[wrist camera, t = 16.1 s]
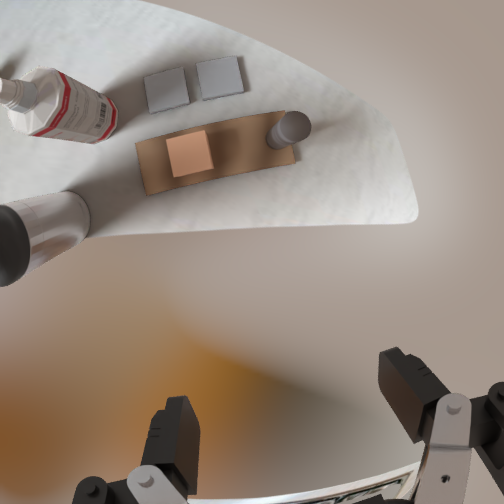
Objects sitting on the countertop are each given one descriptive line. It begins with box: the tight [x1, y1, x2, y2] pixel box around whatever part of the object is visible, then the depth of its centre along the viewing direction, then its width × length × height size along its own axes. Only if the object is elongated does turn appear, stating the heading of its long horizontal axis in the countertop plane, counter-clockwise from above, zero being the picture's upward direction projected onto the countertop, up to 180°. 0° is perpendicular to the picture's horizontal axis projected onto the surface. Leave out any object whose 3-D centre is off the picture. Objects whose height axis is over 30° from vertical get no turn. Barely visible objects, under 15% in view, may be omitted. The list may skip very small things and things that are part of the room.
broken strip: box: [144, 56, 244, 114], centre depth 39 cm, size 14×6×1 cm, turn 101°
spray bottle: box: [0, 66, 119, 144], centre depth 28 cm, size 8×8×25 cm
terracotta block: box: [166, 130, 214, 177], centre depth 39 cm, size 5×5×5 cm
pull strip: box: [135, 110, 311, 196], centre depth 36 cm, size 22×8×14 cm, turn 101°
